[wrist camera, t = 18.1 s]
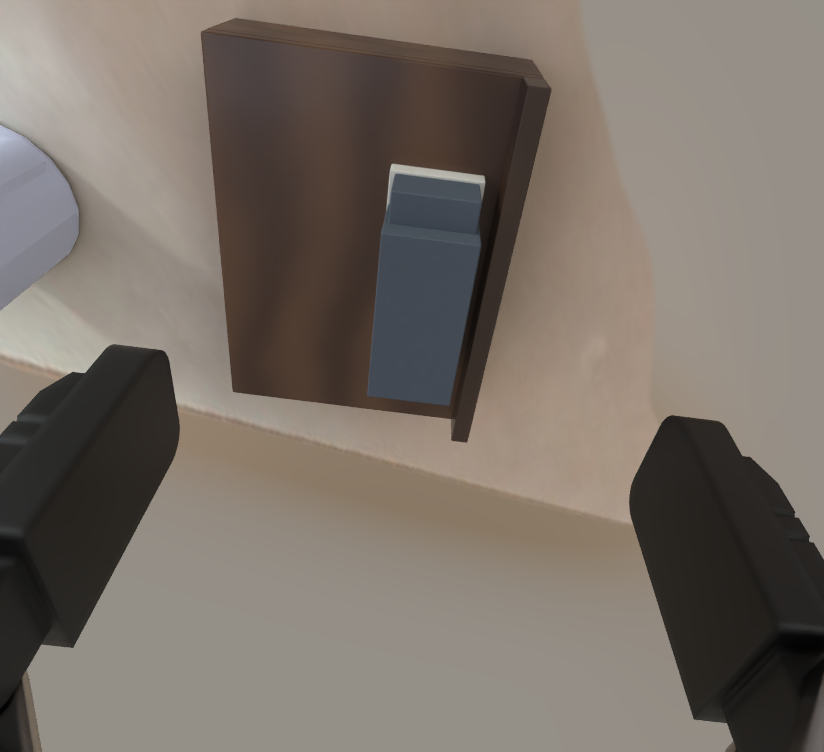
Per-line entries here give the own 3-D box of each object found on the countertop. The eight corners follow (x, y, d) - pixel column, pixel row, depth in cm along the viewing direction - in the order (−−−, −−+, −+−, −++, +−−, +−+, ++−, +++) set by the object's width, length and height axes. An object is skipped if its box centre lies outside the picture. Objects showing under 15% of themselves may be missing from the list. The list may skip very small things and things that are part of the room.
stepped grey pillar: (450, 360, 35) (450, 409, 31) (374, 351, 35) (365, 399, 31) (484, 175, 28) (489, 210, 24) (391, 163, 28) (383, 196, 24)
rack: (253, 348, 41) (222, 413, 35) (234, 18, 29) (182, 37, 23) (465, 374, 41) (467, 443, 36) (532, 59, 29) (551, 88, 24)
